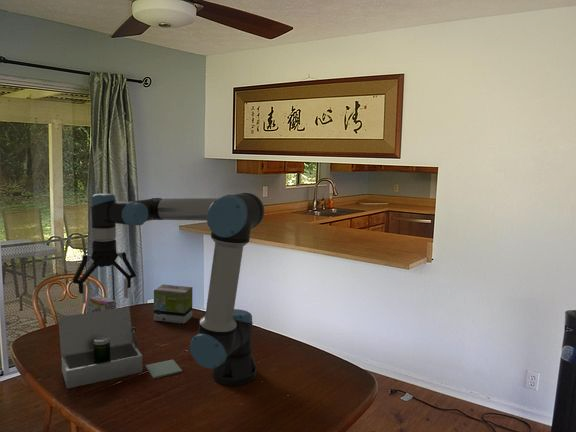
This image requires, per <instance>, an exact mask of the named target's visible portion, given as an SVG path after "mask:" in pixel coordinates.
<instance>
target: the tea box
mask: <svg viewBox="0 0 576 432" xmlns="http://www.w3.org/2000/svg"><path fill="white" fill-rule="evenodd" d="M192 317H193V286H184V285H183V286H182V285H173V284H163V283H162V284H161V285H160V286H158V287H157V288H155V289H154V290H153V320H154V321H155V322H165V323H167V322H168V323H176V324H181V323H183V325H184V323H187V322H188V321H189V320H190V319H191V318H192Z"/></svg>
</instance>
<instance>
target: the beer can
mask: <svg viewBox="0 0 576 432" xmlns="http://www.w3.org/2000/svg"><path fill="white" fill-rule="evenodd" d="M110 347H111V346H110V340H109V337H106V336H102V337H97V338H95V339H94V342H93V353H94V364H97V363H102V362H107V361H110Z"/></svg>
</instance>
